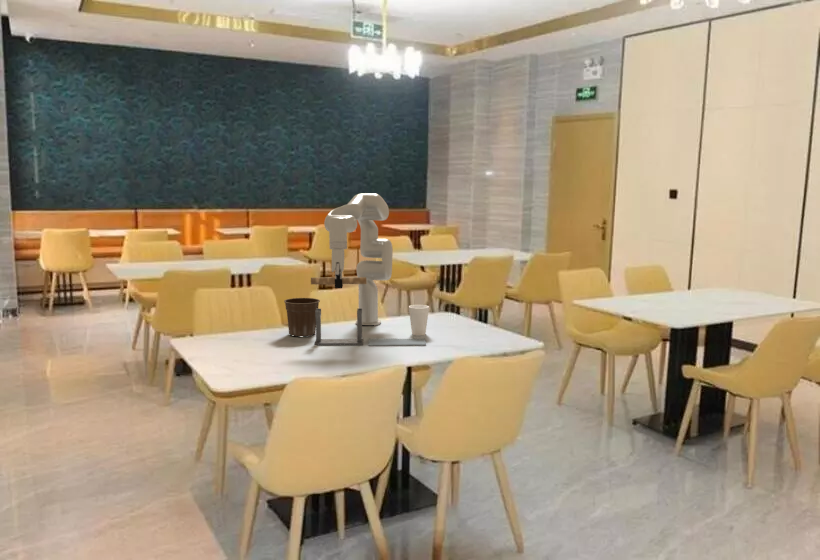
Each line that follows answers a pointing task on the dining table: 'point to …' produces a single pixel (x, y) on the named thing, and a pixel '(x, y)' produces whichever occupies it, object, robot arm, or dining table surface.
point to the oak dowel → (344, 280)
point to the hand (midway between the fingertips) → (338, 287)
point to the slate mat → (397, 342)
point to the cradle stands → (338, 341)
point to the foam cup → (418, 318)
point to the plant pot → (301, 316)
